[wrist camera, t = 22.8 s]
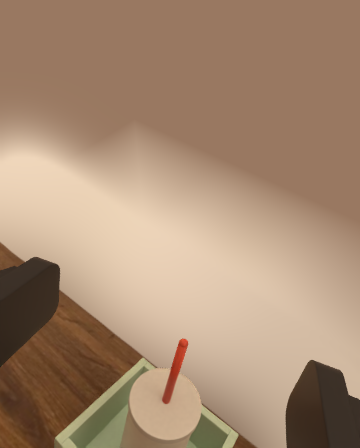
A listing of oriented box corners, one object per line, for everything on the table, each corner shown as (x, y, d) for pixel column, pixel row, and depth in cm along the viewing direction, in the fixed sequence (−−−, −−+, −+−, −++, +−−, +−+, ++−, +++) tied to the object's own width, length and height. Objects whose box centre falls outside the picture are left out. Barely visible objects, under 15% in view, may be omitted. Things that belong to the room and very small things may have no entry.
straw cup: (183, 449, 32) (230, 328, 24) (163, 521, 26) (217, 392, 19) (130, 424, 33) (160, 301, 25) (100, 488, 27) (128, 354, 20)
